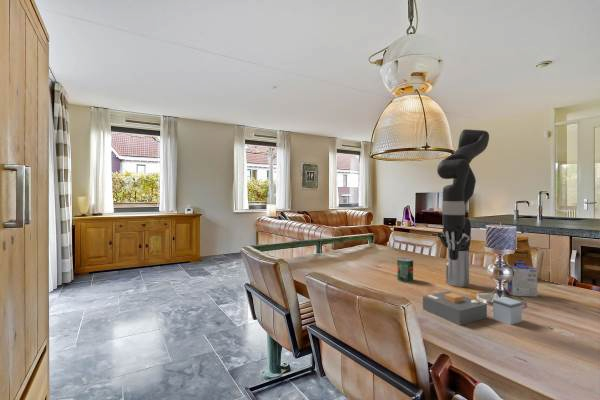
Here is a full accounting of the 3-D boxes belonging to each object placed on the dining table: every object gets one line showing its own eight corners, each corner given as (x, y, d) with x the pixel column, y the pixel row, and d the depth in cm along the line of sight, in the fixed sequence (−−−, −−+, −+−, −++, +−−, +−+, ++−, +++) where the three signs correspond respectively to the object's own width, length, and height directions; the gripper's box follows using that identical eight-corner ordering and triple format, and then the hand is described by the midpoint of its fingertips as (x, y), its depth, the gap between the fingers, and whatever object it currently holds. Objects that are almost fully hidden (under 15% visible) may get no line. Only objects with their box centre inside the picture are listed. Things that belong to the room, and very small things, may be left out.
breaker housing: (422, 308, 116) (422, 294, 116) (448, 303, 122) (448, 289, 122) (459, 325, 101) (459, 308, 101) (486, 318, 107) (486, 302, 107)
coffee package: (534, 281, 150) (534, 238, 150) (505, 278, 156) (505, 236, 155) (529, 276, 159) (529, 235, 159) (501, 274, 165) (501, 234, 164)
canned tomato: (415, 282, 151) (415, 260, 151) (400, 282, 151) (399, 260, 151) (410, 278, 159) (410, 257, 159) (395, 278, 159) (395, 257, 159)
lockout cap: (493, 318, 107) (493, 298, 107) (503, 315, 109) (503, 296, 109) (510, 325, 101) (510, 304, 101) (521, 321, 104) (521, 301, 104)
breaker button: (444, 306, 113) (444, 294, 113) (452, 305, 114) (452, 292, 114) (454, 311, 109) (454, 298, 108) (462, 309, 110) (462, 296, 110)
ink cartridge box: (531, 293, 133) (531, 260, 133) (538, 297, 128) (538, 263, 127) (506, 291, 135) (506, 260, 135) (512, 295, 130) (512, 262, 129)
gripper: (477, 213, 106) (477, 262, 107) (445, 212, 118) (445, 255, 119) (462, 214, 103) (462, 264, 104) (431, 212, 115) (431, 257, 116)
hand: (453, 259), depth 111 cm, fingers closed
